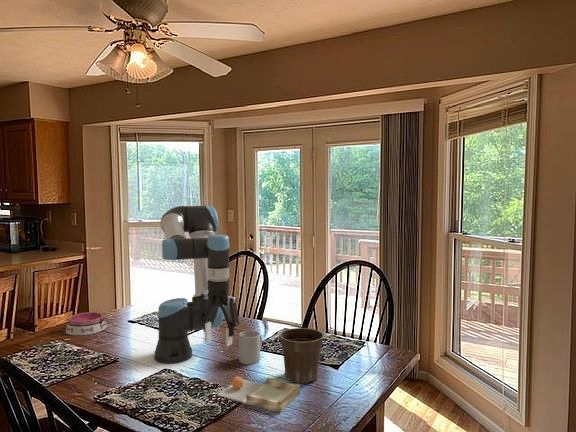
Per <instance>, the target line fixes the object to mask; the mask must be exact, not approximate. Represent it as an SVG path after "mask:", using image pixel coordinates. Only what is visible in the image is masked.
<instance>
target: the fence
mask: <svg viewBox="0 0 576 432" xmlns="http://www.w3.org/2000/svg"><path fill="white" fill-rule="evenodd" d="M265 385H266V386H267V387H272V388H276V389H280V390H284V391H288V393H287V394H285V395H284V396H283V397H282V398H281V399H280V400H279V401H275V400H271V399H267V398H263V397H259V396H255V395H251V394H247V395H246V405H249V406H252V407H257V408H260V409H265V410H267V411H272V412H275V413H280V411H281V410H282V409H283V411H285V409H284V407H286V405H288V404H289V403H290V402H291V401H292V400H293V399H294V398H296V397H297V395H298V397H299V396H300V395H299V393H300V394H301V383H288V382H284V381H279V380H276V379H271V378H266V383H265ZM298 397H297V398H298ZM297 398H296V399H297ZM293 401H294V400H293ZM293 401H292V402H293ZM292 402H291V403H292ZM291 403H290V404H291ZM290 404H289V405H290ZM257 405H258V406H257ZM289 405H288V406H289ZM261 407H262V408H261ZM264 407H265V408H264ZM266 408H267V409H266ZM286 408H287V407H286ZM272 409H274V410H275V411H273V410H272ZM277 411H278V412H277ZM283 411H281V413H282V412H283ZM281 413H280V414H281Z"/></svg>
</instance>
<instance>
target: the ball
mask: <svg viewBox="0 0 576 432" xmlns="http://www.w3.org/2000/svg"><path fill="white" fill-rule="evenodd" d="M231 385H232V386H233V387H234V388H235V389H239V388H241V387H242V386H243V378H242V377H241V376H234V378H233V379H232V380H231Z"/></svg>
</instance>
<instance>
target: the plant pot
mask: <svg viewBox="0 0 576 432" xmlns="http://www.w3.org/2000/svg"><path fill="white" fill-rule="evenodd" d="M324 336H325V334H324V333H323V332H322V331H320V330H318V329H313V328H309V327H308V328H307V327H296V328H295V327H294V328H288V329H285V330H283V331H281V332H280V333H279V337H280V340H281V347H282V352H283V364H284V377H285V379H286V380H288V381H289V382H290V383H293V384H309V383H310V382H315V381H316V380H318V378H319V367H320V356H321V350H322V345H323V339H324Z"/></svg>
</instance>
